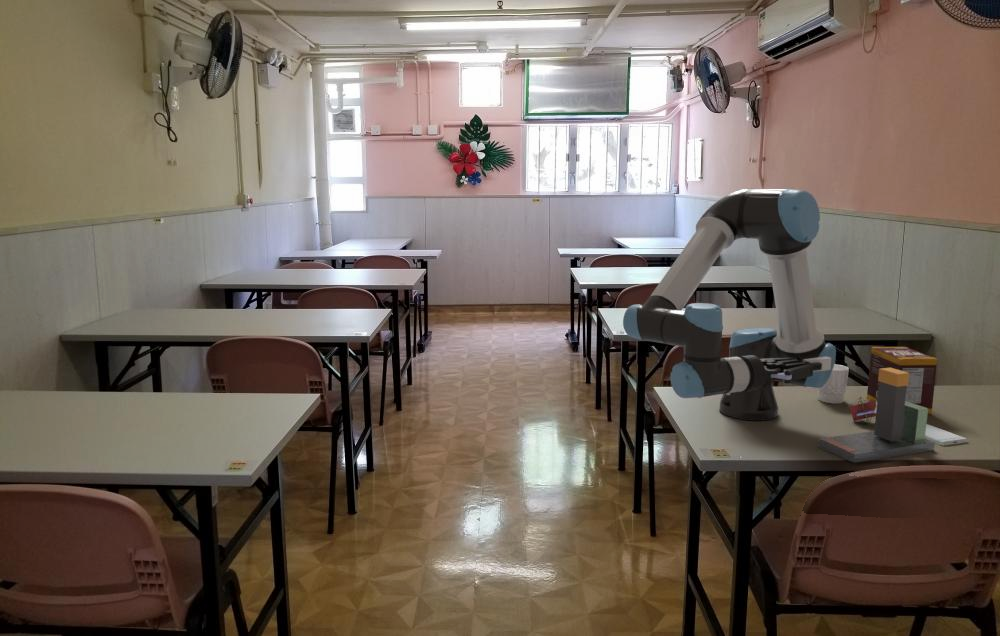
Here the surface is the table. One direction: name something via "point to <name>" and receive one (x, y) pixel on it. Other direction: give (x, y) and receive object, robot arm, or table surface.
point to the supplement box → (907, 361)
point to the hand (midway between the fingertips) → (828, 363)
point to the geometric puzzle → (863, 410)
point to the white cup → (834, 386)
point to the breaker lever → (891, 403)
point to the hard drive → (942, 436)
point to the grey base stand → (876, 447)
